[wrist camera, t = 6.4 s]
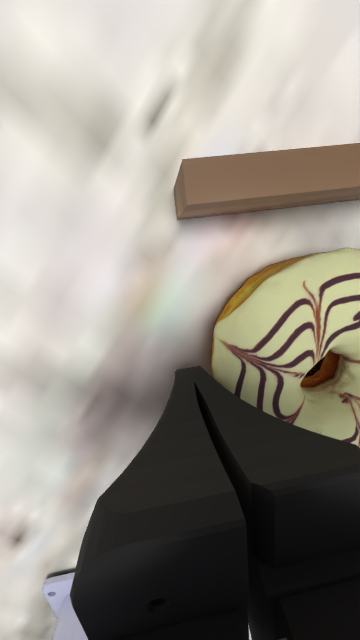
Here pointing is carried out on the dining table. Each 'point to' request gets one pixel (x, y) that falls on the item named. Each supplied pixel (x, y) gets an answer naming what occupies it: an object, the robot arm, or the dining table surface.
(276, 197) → the walnut frame
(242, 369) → the decorated donut
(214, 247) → the dining table surface
